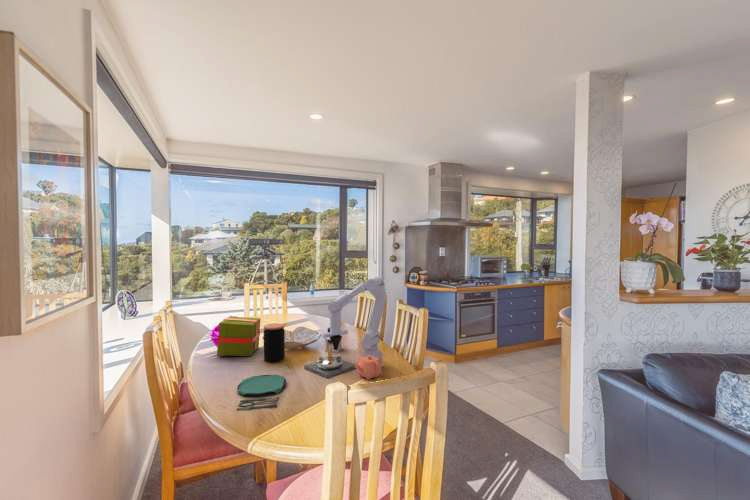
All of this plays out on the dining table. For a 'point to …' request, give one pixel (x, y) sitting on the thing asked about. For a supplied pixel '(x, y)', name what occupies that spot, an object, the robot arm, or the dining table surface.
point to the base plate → (329, 372)
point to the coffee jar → (274, 342)
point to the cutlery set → (260, 389)
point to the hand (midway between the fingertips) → (335, 349)
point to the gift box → (236, 336)
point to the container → (328, 341)
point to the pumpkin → (369, 367)
